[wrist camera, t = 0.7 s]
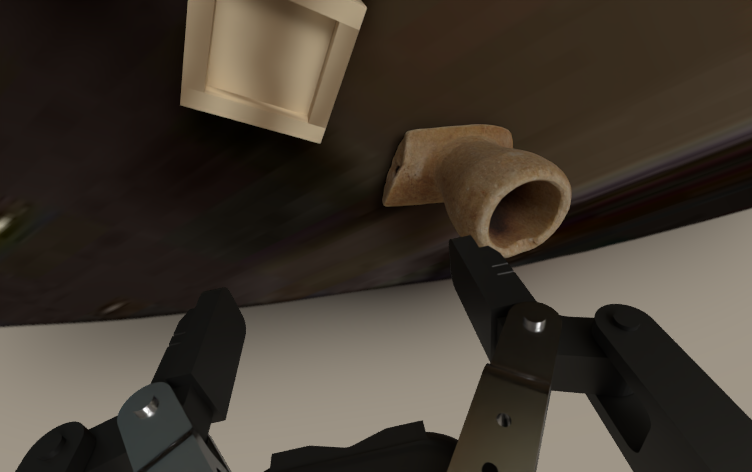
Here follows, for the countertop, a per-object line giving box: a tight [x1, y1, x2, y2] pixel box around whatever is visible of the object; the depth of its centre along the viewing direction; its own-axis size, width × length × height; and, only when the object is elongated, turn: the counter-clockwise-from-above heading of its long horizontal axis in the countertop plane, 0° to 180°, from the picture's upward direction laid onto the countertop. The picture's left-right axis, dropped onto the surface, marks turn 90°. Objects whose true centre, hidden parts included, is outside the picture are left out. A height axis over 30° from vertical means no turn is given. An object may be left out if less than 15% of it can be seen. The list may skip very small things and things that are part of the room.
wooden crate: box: [180, 0, 367, 143], centre depth 28 cm, size 11×11×6 cm
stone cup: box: [382, 124, 571, 258], centre depth 36 cm, size 15×12×15 cm
